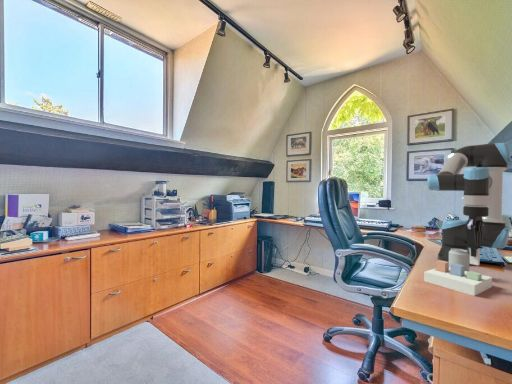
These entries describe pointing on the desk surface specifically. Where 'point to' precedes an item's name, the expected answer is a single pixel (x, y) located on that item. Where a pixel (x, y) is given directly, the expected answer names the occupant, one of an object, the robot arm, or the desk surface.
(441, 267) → the terracotta button
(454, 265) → the slate button
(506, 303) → the desk surface
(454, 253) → the can
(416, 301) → the desk surface
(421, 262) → the desk surface
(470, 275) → the sage button
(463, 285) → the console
